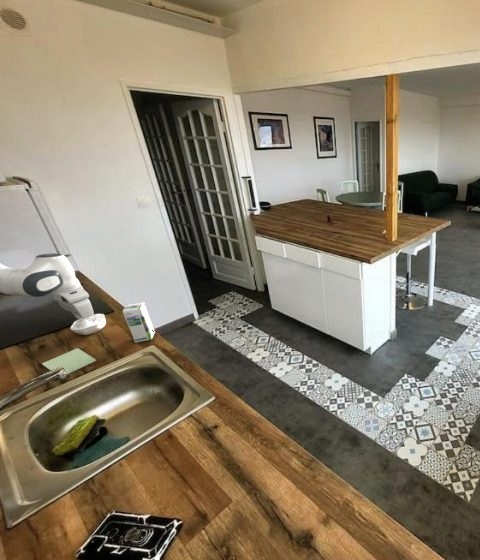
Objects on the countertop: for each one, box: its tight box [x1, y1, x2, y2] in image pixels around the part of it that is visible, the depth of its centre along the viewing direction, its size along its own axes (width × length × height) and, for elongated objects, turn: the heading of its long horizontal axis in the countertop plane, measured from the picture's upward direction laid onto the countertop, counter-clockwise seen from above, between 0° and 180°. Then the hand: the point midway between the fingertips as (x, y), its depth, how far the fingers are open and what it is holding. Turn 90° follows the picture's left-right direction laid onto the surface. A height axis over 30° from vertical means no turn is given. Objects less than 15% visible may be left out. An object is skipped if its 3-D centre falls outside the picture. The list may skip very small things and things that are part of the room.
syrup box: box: [122, 301, 156, 344], centre depth 121 cm, size 6×6×14 cm
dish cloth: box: [41, 347, 97, 379], centre depth 110 cm, size 10×14×1 cm
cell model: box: [69, 313, 107, 336], centre depth 126 cm, size 10×12×7 cm
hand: (82, 321), depth 129 cm, fingers closed
